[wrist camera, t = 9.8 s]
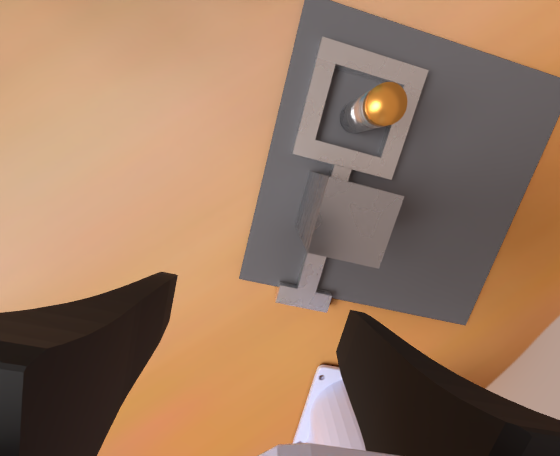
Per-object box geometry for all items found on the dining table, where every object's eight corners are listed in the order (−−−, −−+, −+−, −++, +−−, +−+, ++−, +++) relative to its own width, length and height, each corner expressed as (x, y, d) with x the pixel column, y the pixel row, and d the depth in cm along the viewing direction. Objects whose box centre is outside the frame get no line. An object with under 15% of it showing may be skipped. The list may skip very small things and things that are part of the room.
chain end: (342, 310, 23) (370, 364, 17) (256, 293, 22) (253, 343, 16) (421, 73, 19) (493, 36, 13) (319, 41, 18) (348, -14, 12)
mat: (462, 323, 24) (465, 325, 24) (239, 277, 22) (239, 278, 21) (569, 83, 20) (574, 82, 19) (305, -5, 17) (306, -8, 17)
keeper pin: (363, 136, 19) (399, 130, 14) (335, 129, 19) (362, 119, 14) (373, 106, 19) (413, 88, 14) (344, 97, 19) (375, 76, 14)
